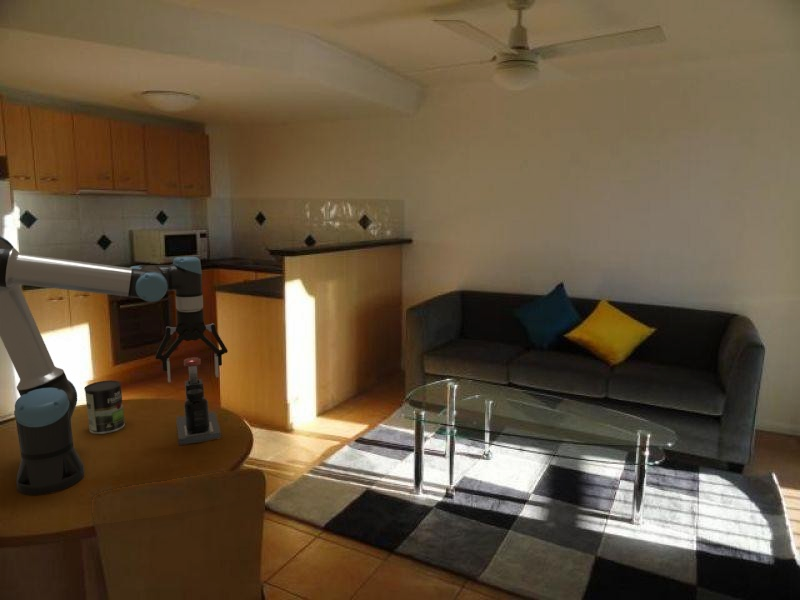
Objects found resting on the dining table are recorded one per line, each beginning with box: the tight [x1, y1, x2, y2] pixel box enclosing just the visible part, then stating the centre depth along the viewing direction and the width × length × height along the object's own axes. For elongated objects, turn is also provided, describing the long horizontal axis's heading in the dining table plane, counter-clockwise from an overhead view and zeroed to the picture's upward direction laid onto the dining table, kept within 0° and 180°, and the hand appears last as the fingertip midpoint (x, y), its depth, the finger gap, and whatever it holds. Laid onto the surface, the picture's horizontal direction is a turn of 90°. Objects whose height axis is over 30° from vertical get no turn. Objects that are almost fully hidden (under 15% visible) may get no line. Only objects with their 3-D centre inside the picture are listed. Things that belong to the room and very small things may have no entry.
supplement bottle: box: [183, 389, 210, 433], centre depth 175 cm, size 7×7×12 cm
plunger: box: [183, 356, 202, 384], centre depth 183 cm, size 5×5×12 cm
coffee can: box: [84, 379, 126, 435], centre depth 182 cm, size 10×10×14 cm
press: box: [175, 378, 222, 446], centre depth 179 cm, size 18×12×14 cm, turn 23°
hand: (193, 378), depth 173 cm, fingers open, 13 cm apart
